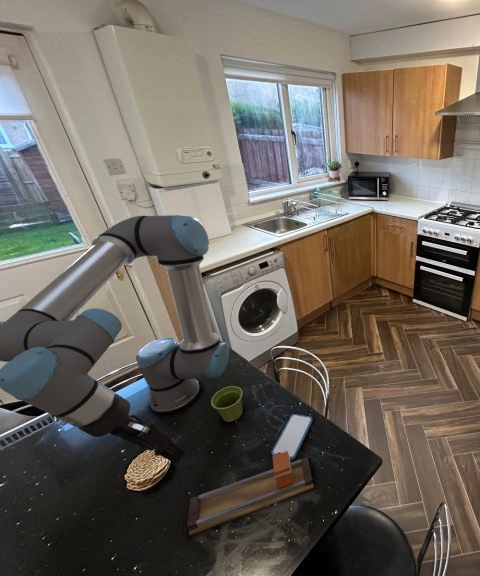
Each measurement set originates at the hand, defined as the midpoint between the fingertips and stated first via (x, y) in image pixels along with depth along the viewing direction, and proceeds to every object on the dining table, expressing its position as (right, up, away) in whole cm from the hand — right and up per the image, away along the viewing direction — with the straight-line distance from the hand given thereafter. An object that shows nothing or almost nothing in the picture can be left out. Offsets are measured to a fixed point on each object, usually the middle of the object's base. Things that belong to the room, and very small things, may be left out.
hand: (179, 457), depth 74 cm
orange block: (+22, -13, +11) cm, 28 cm away
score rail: (+14, -15, +9) cm, 23 cm away
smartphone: (+20, -7, +24) cm, 32 cm away
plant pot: (-2, -3, +31) cm, 31 cm away
